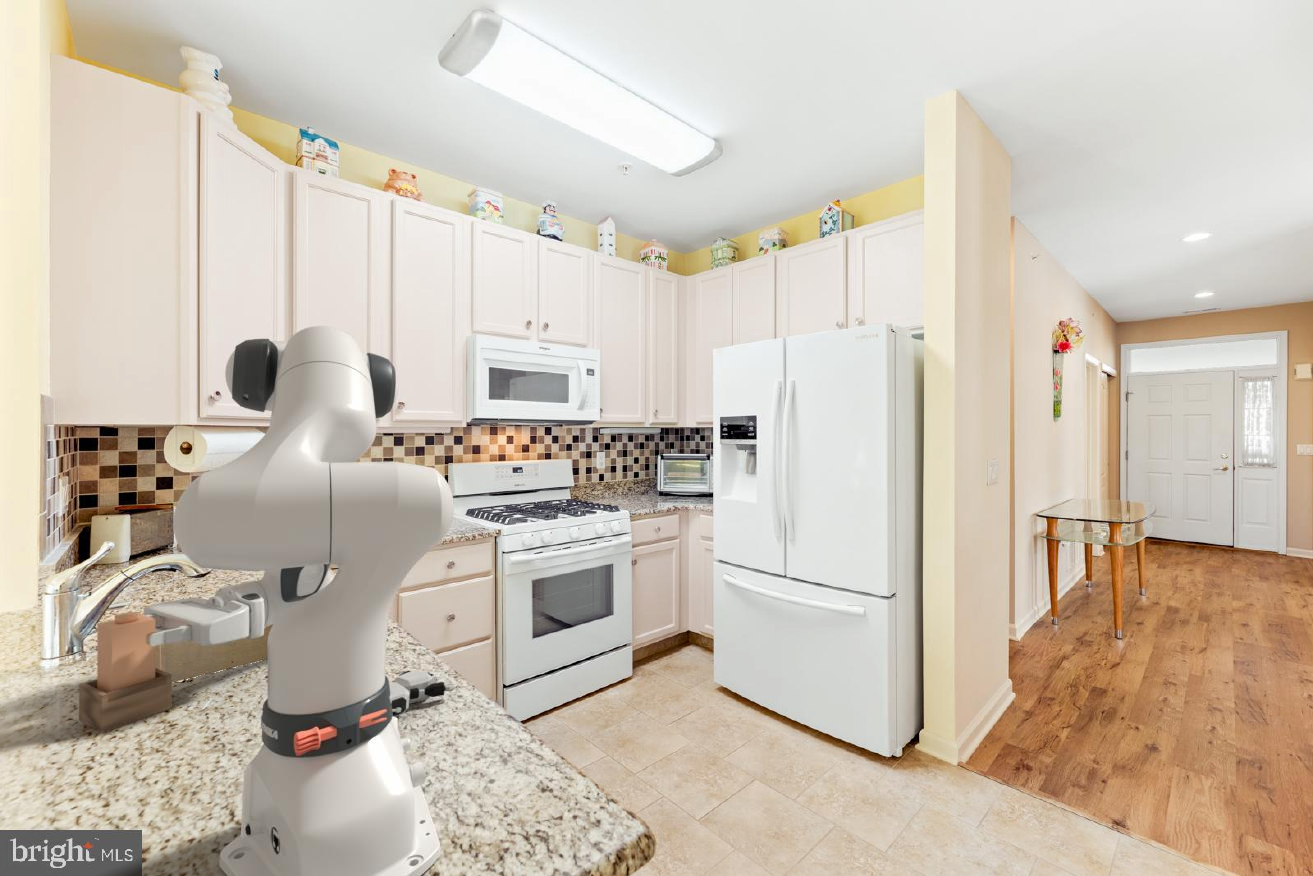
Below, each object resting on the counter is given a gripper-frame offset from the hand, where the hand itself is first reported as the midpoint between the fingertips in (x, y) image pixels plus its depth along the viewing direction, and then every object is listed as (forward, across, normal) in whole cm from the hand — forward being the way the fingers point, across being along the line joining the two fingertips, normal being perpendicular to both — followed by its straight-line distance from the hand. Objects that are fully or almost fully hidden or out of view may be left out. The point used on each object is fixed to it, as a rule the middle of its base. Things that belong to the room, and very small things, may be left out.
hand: (133, 635), depth 85 cm
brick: (+1, 0, +8) cm, 8 cm away
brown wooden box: (+1, 0, +12) cm, 12 cm away
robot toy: (-19, +35, +12) cm, 41 cm away
